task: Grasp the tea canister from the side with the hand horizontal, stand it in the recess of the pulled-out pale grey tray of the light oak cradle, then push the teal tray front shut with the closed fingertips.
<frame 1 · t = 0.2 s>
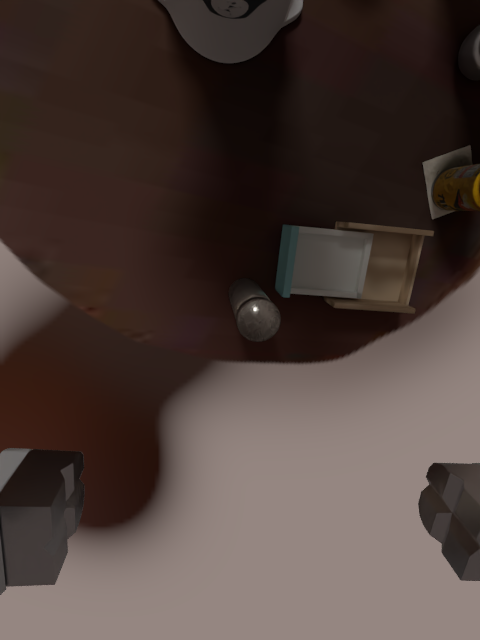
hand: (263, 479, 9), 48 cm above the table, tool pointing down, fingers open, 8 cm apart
condiment: (448, 183, 55), on the table
tray: (325, 263, 53), point 3 cm above the table, slide at 7.0 cm
housing: (368, 264, 57), on the table
canister: (244, 294, 56), on the table
plastic bottle: (472, 58, 50), on the table
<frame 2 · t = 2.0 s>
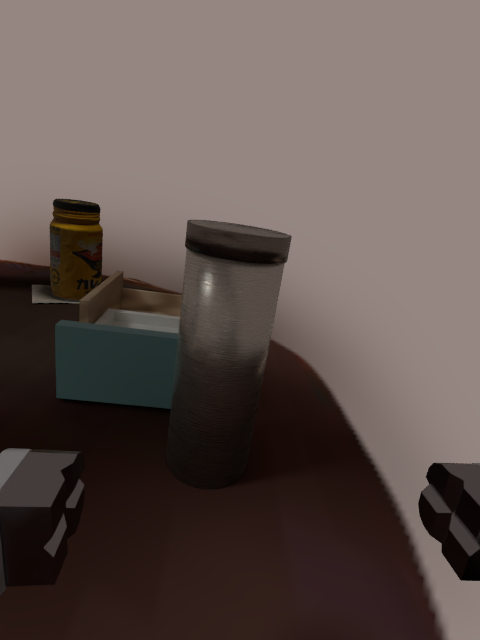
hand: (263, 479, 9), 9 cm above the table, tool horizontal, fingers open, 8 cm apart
condiment: (69, 296, 48), on the table
tray: (145, 335, 32), point 3 cm above the table, slide at 7.0 cm
housing: (157, 335, 40), on the table
canister: (206, 458, 23), on the table
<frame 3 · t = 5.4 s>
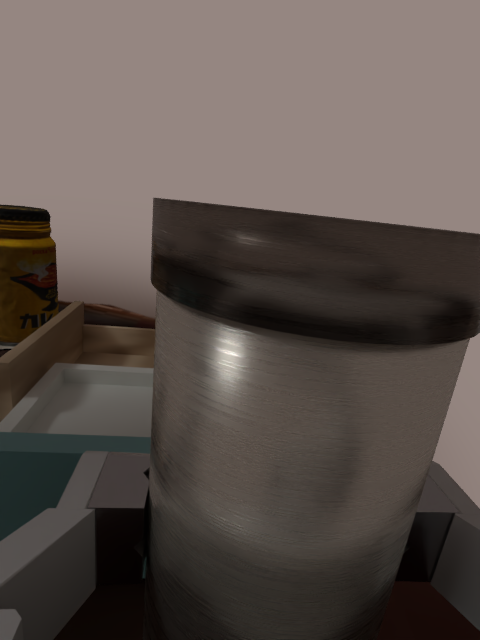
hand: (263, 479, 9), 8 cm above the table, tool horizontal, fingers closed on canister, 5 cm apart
condiment: (14, 337, 35), on the table
tray: (106, 417, 19), point 3 cm above the table, slide at 7.0 cm
housing: (133, 394, 27), on the table
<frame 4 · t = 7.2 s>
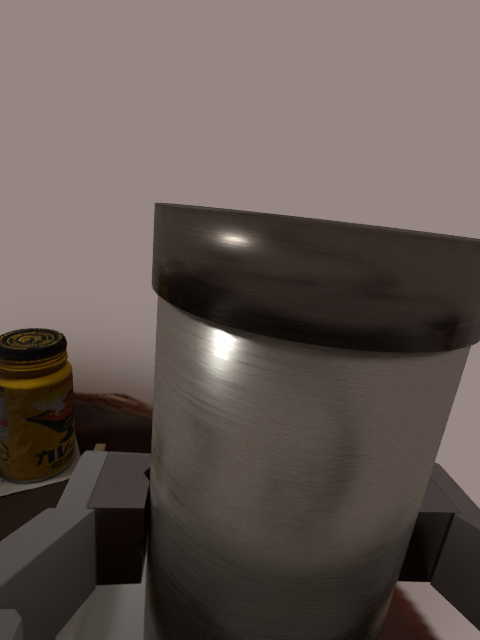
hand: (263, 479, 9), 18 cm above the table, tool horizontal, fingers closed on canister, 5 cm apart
condiment: (28, 464, 33), on the table
when the fingers open (11 cm above the table, at t = 9.2 s): canister drops 1 cm, resting on tray.
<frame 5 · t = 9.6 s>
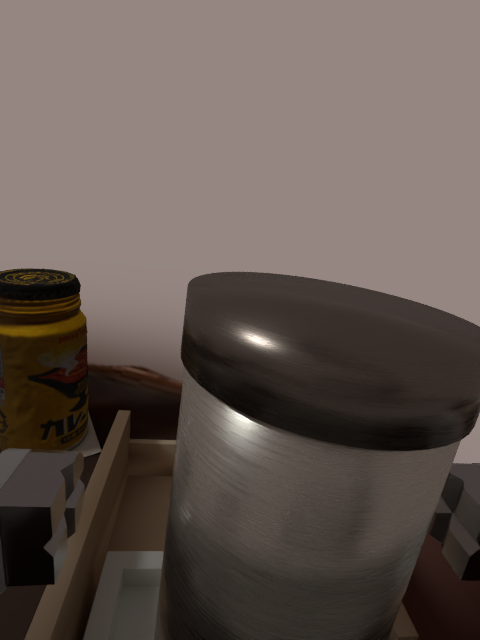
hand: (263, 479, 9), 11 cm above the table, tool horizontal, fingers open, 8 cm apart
condiment: (30, 440, 27), on the table
housing: (213, 569, 18), on the table
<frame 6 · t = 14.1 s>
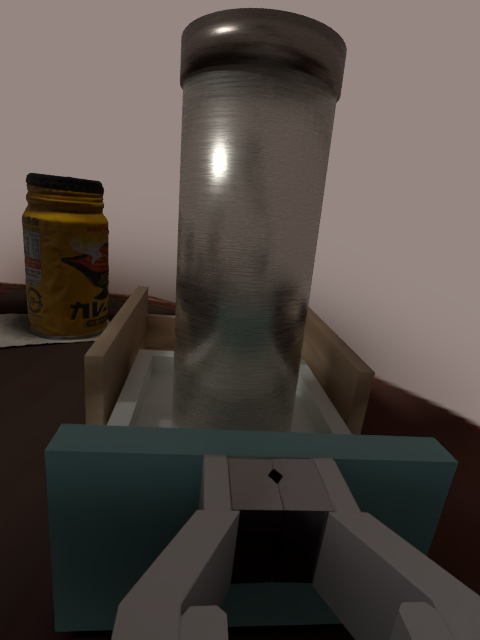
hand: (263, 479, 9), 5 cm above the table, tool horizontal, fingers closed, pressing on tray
condiment: (58, 330, 31), on the table
tray: (232, 411, 15), point 3 cm above the table, slide at 5.8 cm, touching canister, gripper
housing: (219, 396, 23), on the table
canister: (230, 432, 16), point 2 cm above the table, touching tray
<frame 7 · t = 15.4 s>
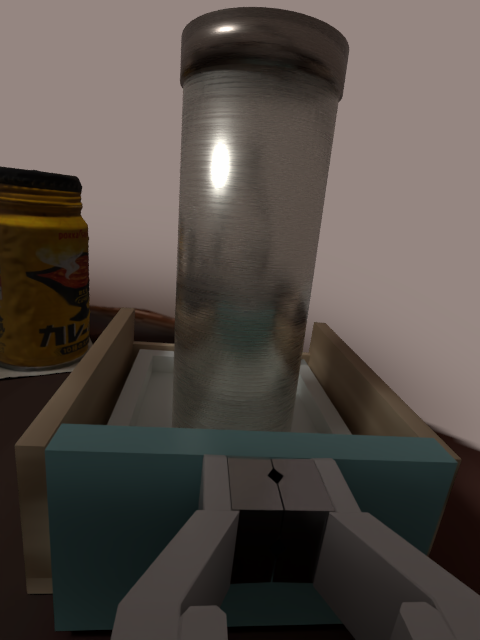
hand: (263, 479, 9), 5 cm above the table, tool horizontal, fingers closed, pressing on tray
condiment: (29, 357, 25), on the table
tray: (232, 411, 15), point 3 cm above the table, slide at 0.2 cm, touching canister, gripper
housing: (224, 456, 17), on the table
canister: (230, 432, 16), point 2 cm above the table, touching tray
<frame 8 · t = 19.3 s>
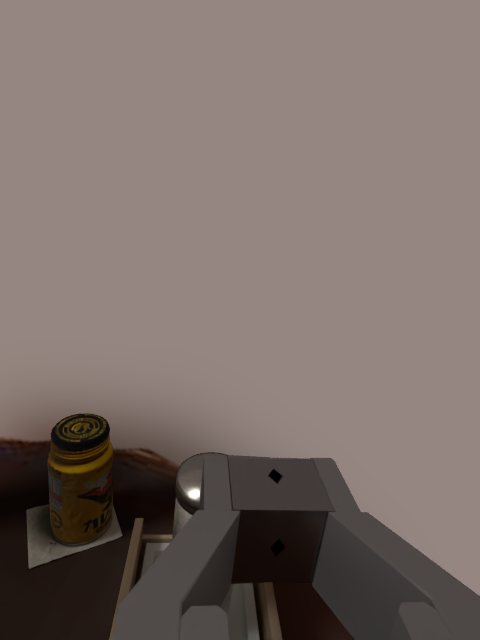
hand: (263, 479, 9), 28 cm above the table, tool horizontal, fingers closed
condiment: (73, 526, 39), on the table
tray: (196, 612, 29), point 3 cm above the table, slide at 0.1 cm, touching canister
housing: (194, 626, 31), on the table
canister: (196, 621, 30), point 2 cm above the table, touching tray
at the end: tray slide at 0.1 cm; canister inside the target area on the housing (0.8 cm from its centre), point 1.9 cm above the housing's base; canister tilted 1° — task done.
